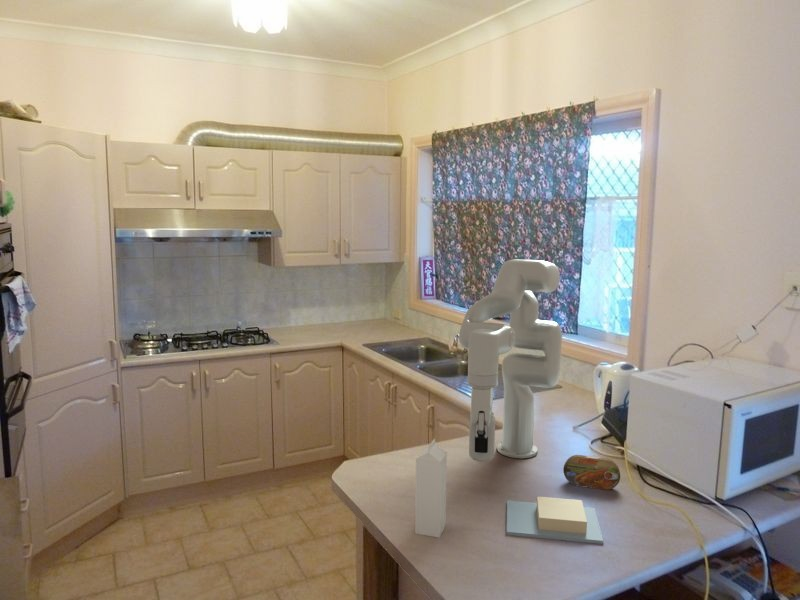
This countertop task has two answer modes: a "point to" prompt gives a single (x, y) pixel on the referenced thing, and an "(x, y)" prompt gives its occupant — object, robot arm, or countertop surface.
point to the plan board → (530, 526)
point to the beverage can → (491, 440)
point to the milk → (431, 491)
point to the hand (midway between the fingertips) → (481, 445)
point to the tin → (592, 472)
